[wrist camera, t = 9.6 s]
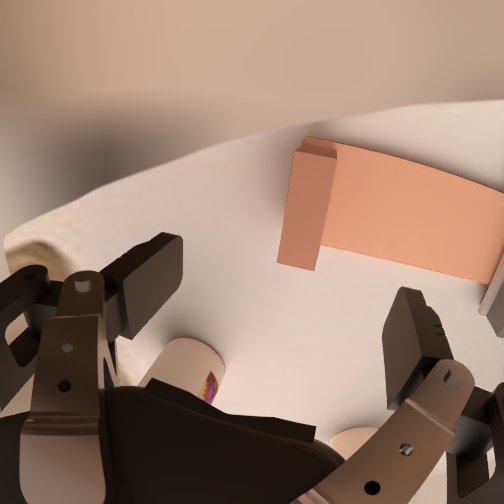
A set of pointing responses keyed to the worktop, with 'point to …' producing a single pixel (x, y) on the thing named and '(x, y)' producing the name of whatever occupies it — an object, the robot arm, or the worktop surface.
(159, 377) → the milk bottle
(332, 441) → the base with upright slab
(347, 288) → the worktop surface
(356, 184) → the peach l-shaped block
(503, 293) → the grey square block
